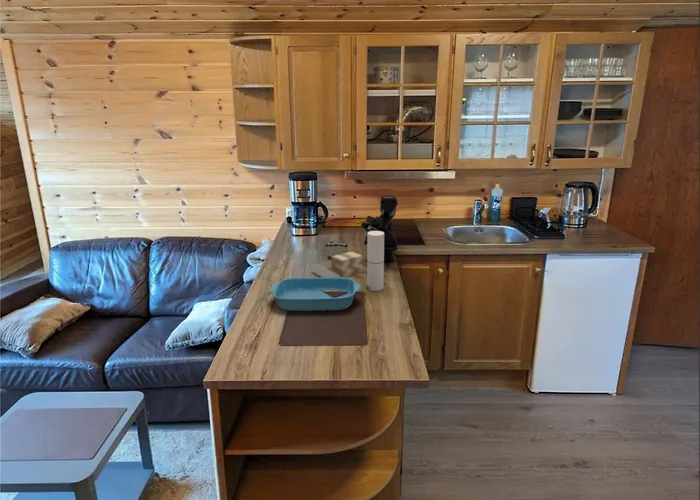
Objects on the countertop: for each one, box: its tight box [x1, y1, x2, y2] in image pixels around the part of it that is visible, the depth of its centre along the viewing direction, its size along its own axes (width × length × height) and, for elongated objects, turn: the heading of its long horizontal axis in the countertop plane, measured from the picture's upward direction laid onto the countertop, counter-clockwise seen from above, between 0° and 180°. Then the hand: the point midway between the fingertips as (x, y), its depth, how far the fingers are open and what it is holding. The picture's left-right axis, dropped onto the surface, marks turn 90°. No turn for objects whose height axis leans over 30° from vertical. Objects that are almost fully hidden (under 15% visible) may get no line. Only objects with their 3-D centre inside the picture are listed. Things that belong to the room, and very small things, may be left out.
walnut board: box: [311, 261, 386, 281], centre depth 222 cm, size 29×20×2 cm
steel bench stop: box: [311, 262, 340, 277], centre depth 214 cm, size 2×20×4 cm, turn 36°
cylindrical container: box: [366, 231, 385, 292], centre depth 203 cm, size 7×7×25 cm
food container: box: [324, 239, 350, 261], centre depth 240 cm, size 12×6×10 cm, turn 84°
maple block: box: [331, 251, 364, 277], centre depth 220 cm, size 12×8×8 cm, turn 126°
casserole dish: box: [269, 276, 361, 312], centre depth 192 cm, size 37×22×7 cm, turn 89°
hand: (366, 245), depth 224 cm, fingers open, 3 cm apart
